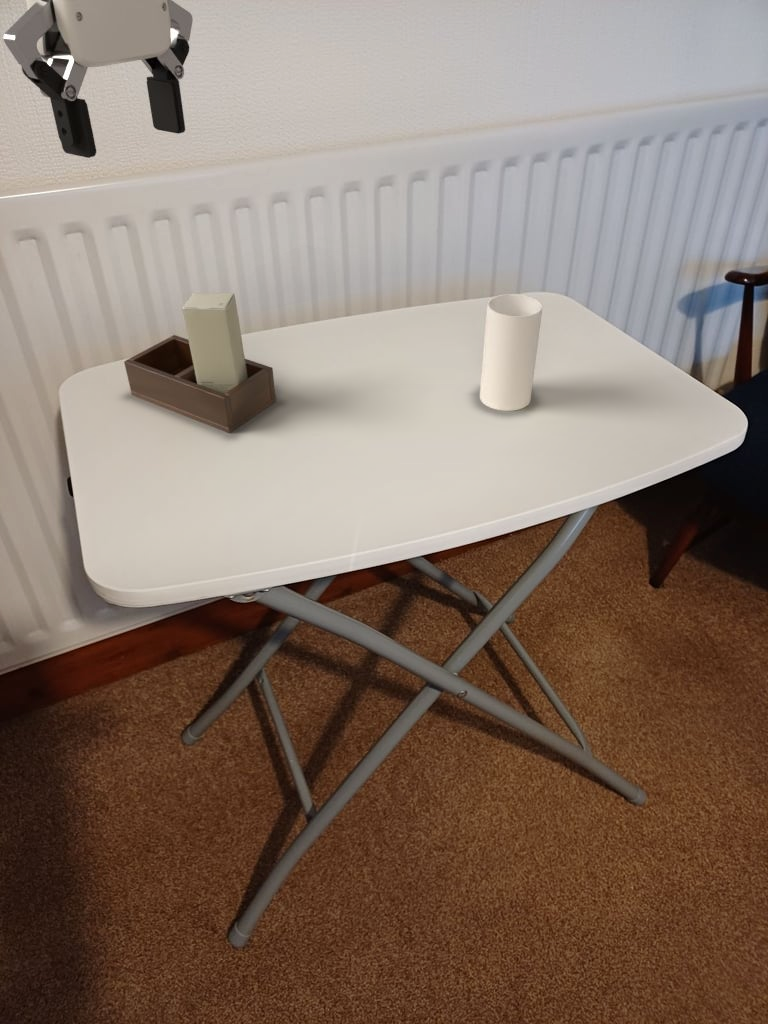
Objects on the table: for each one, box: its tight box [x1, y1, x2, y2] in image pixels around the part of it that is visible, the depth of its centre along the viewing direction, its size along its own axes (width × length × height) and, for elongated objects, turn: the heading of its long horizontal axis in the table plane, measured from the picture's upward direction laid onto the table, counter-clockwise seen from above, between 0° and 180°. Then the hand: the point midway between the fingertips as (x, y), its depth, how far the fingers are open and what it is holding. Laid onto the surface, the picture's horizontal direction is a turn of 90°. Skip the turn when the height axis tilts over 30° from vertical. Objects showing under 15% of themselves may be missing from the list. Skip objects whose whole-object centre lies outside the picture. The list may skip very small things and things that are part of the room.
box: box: [181, 292, 248, 394], centre depth 90 cm, size 5×4×13 cm
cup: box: [479, 293, 543, 412], centre depth 92 cm, size 6×6×12 cm
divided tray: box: [123, 334, 277, 434], centre depth 94 cm, size 8×16×5 cm, turn 57°
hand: (127, 142), depth 64 cm, fingers open, 9 cm apart
